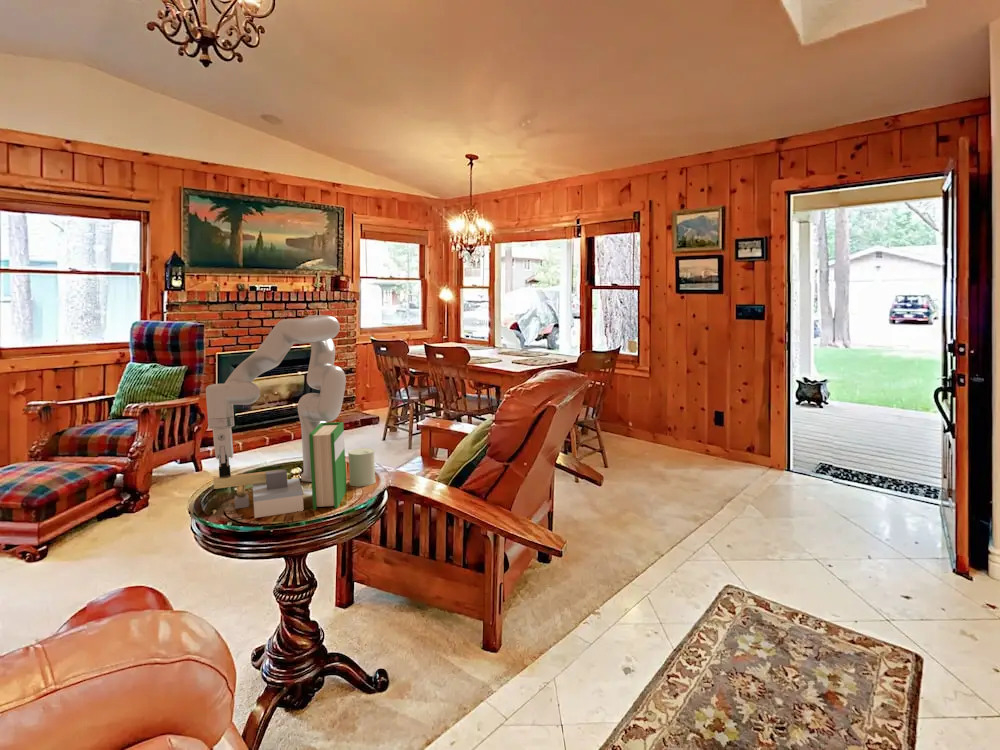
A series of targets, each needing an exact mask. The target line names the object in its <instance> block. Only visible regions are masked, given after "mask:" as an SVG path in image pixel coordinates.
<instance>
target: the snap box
mask: <svg viewBox="0 0 1000 750" xmlns="http://www.w3.org/2000/svg"><path fill="white" fill-rule="evenodd" d="M233 501H234V509H242V508H249V507H250V500H249V493H245V496H244V497H237V495H234V500H233ZM303 510H304V494H303V495H300V496H292V497H285V498H278V499H271V500H263V501H256V502H254V501H253V515H254V516H253V517H254V519H256V518H263V517H270V516H276V515H284V514H290V513H291V514H292V513H297V511H298V512H304V511H305V510H304V511H303Z"/></svg>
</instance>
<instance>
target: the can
mask: <svg viewBox="0 0 1000 750" xmlns="http://www.w3.org/2000/svg"><path fill="white" fill-rule="evenodd" d="M347 454H348V466H349V467H348V468H349V470H348V471H349V485H350V486H352V487H367V486H371V485H374V484H376V482H377V480H376V471H375V470H376V467H375V466H376V465H375V449H373V448H370V447H369V448H366V447H365V448H363V447H362V448H355V449H351V450H349V451H348V452H347Z"/></svg>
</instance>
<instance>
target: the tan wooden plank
mask: <svg viewBox="0 0 1000 750" xmlns="http://www.w3.org/2000/svg"><path fill="white" fill-rule="evenodd" d="M276 470H277V469H274V470H273V469H272V471H276ZM280 470H283V469H281V468H280ZM268 471H269V470H266V471H257V472H256V471H255V472H250V473H241V474H233V475H232V474H231V476H223V477H219V476H215V477H213V489H214V490H215V489H225V488H232V487H234V488H235V487H236V494H237V495H236V496H237V497H244V496H245V494H246V486H249V485H253V484H258V483H266V472H268Z"/></svg>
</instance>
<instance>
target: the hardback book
mask: <svg viewBox="0 0 1000 750" xmlns="http://www.w3.org/2000/svg"><path fill="white" fill-rule="evenodd" d="M344 426H345V425H344V422H342V421H337V422H333V421H331V422H327V423H320V424H319V425H318V426H317V427H316V428H315V429H314V430H313V431H312V432H311V433H310V434H309V442H310V460H311V479H312V482H311V492H312V493H311V495H312V510H315V511H316V510H317V509H318V508H319V507H334V509H339V506H340V504H341V502H342V500H343V499H344V497H345V495H346V492H347V474H346V473H347V472H346V469H347V468H346V453H345V452H346V451H345V431H344Z"/></svg>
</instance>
